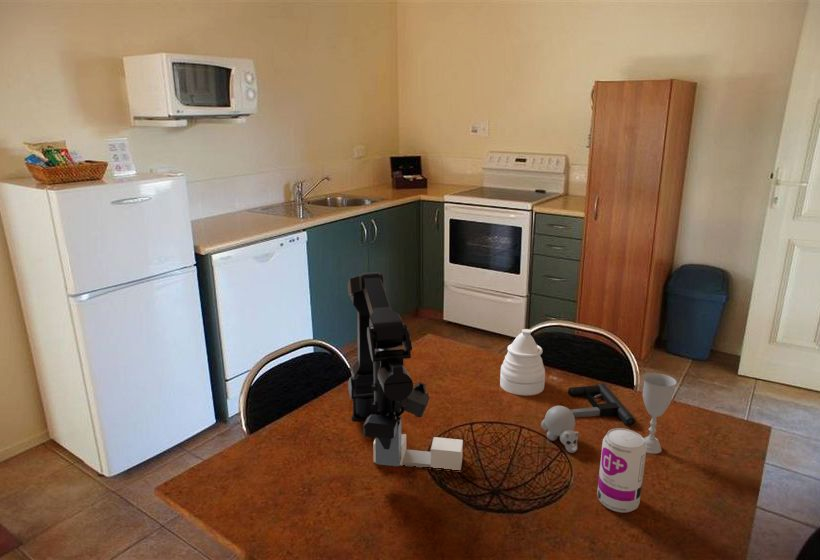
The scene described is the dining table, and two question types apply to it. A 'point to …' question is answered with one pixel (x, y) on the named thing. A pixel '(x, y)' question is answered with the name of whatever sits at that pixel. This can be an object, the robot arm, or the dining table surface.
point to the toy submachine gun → (603, 410)
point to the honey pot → (523, 366)
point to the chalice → (656, 403)
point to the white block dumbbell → (432, 454)
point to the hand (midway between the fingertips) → (388, 444)
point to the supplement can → (621, 470)
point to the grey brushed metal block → (390, 449)
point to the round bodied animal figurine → (561, 427)
